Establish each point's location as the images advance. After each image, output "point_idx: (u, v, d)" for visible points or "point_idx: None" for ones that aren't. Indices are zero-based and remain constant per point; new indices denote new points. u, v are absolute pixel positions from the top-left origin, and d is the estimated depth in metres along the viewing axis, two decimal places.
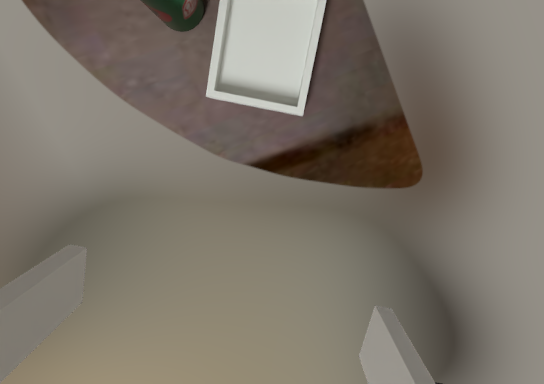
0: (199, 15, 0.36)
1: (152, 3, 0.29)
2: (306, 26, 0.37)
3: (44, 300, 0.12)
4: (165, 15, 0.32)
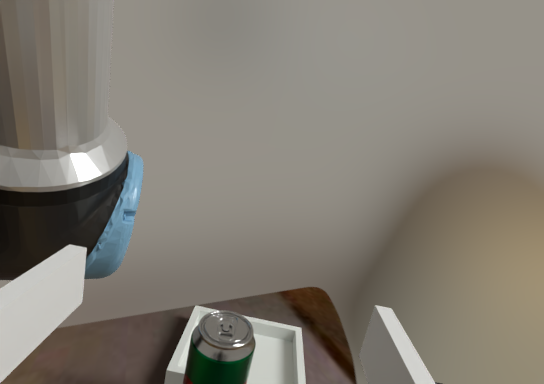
0: None
1: None
2: None
3: (44, 300, 0.12)
4: None
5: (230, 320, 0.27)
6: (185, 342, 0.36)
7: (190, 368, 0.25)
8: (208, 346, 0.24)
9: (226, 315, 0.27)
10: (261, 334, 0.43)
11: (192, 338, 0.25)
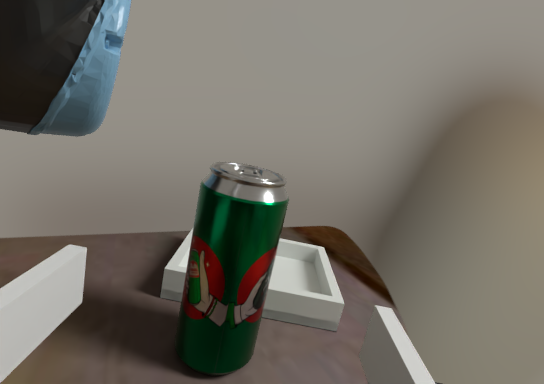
0: None
1: None
2: None
3: (44, 300, 0.12)
4: None
5: None
6: (187, 248, 0.29)
7: (201, 221, 0.18)
8: (226, 182, 0.17)
9: (246, 168, 0.20)
10: (277, 254, 0.36)
11: (202, 182, 0.18)
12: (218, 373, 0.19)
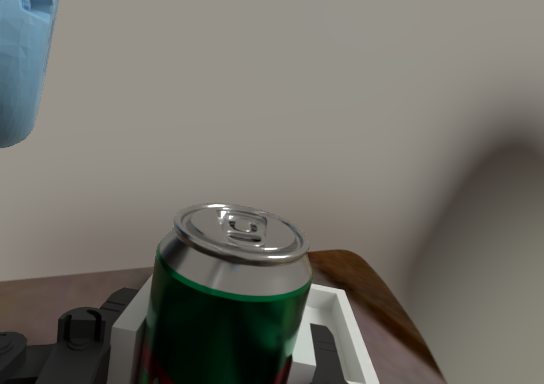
0: None
1: None
2: None
3: None
4: None
5: None
6: None
7: (154, 322, 0.10)
8: (199, 256, 0.09)
9: (240, 213, 0.12)
10: None
11: (159, 248, 0.10)
12: None
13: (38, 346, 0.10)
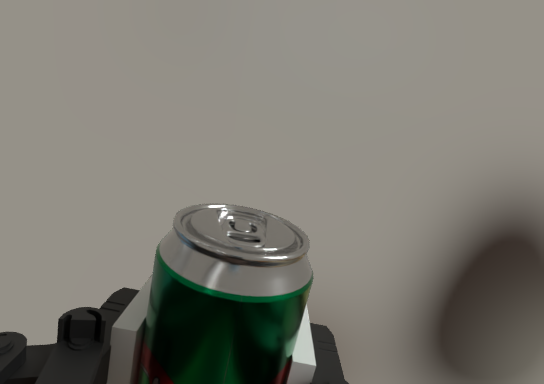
0: None
1: None
2: None
3: None
4: None
5: None
6: None
7: (154, 323, 0.10)
8: (198, 257, 0.09)
9: (240, 213, 0.12)
10: None
11: (159, 249, 0.10)
12: None
13: (38, 346, 0.10)
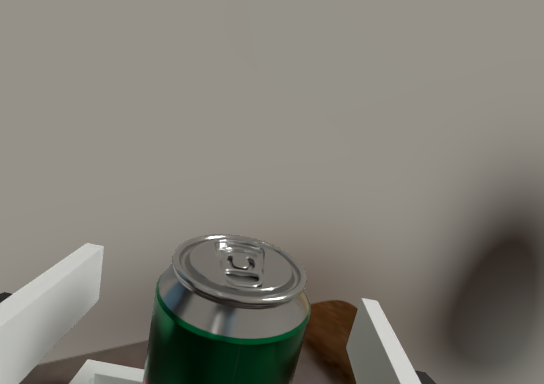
0: None
1: None
2: None
3: (66, 297, 0.12)
4: None
5: (248, 252, 0.12)
6: None
7: (154, 361, 0.10)
8: (198, 300, 0.09)
9: (238, 243, 0.12)
10: None
11: (158, 287, 0.10)
12: None
13: None
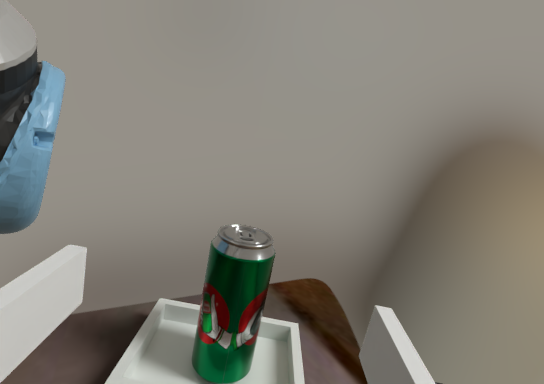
0: None
1: None
2: None
3: (44, 300, 0.12)
4: None
5: (248, 232, 0.27)
6: (139, 344, 0.26)
7: (211, 273, 0.25)
8: (230, 246, 0.24)
9: (244, 228, 0.27)
10: None
11: (212, 244, 0.25)
12: (225, 383, 0.26)
13: None
